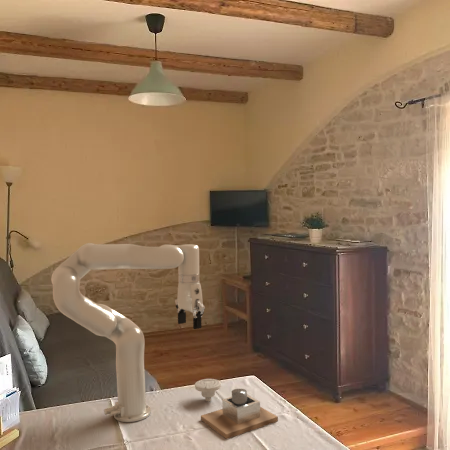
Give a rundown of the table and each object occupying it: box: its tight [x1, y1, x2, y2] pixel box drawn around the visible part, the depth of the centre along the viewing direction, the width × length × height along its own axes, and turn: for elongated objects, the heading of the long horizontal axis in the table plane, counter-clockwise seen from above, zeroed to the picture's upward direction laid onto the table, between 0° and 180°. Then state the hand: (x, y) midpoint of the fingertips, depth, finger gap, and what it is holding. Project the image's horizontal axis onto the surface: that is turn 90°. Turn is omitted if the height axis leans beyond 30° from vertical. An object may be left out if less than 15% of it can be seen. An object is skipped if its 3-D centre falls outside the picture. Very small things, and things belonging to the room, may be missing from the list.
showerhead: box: [194, 377, 222, 402], centre depth 177 cm, size 9×7×10 cm
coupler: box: [231, 388, 248, 407], centre depth 161 cm, size 5×5×8 cm
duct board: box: [200, 394, 279, 440], centre depth 160 cm, size 20×16×6 cm
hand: (189, 325), depth 175 cm, fingers open, 9 cm apart
